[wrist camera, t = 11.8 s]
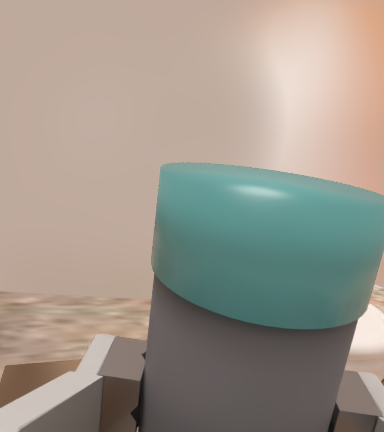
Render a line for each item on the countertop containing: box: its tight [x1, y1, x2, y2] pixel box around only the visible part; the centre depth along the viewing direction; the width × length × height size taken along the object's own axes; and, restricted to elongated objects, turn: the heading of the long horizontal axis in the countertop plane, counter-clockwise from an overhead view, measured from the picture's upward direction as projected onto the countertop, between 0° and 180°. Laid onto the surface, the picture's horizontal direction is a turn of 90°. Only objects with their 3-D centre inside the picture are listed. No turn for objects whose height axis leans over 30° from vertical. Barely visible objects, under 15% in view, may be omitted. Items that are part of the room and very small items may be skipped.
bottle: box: [138, 163, 384, 432], centre depth 9 cm, size 5×5×12 cm
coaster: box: [345, 304, 384, 381], centre depth 28 cm, size 10×10×4 cm
